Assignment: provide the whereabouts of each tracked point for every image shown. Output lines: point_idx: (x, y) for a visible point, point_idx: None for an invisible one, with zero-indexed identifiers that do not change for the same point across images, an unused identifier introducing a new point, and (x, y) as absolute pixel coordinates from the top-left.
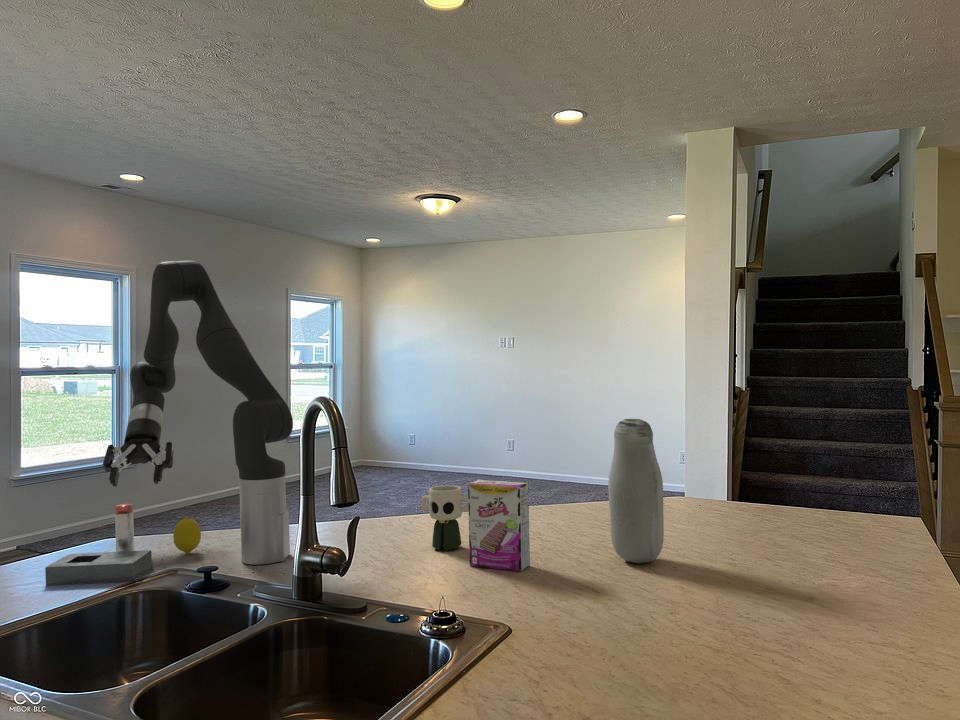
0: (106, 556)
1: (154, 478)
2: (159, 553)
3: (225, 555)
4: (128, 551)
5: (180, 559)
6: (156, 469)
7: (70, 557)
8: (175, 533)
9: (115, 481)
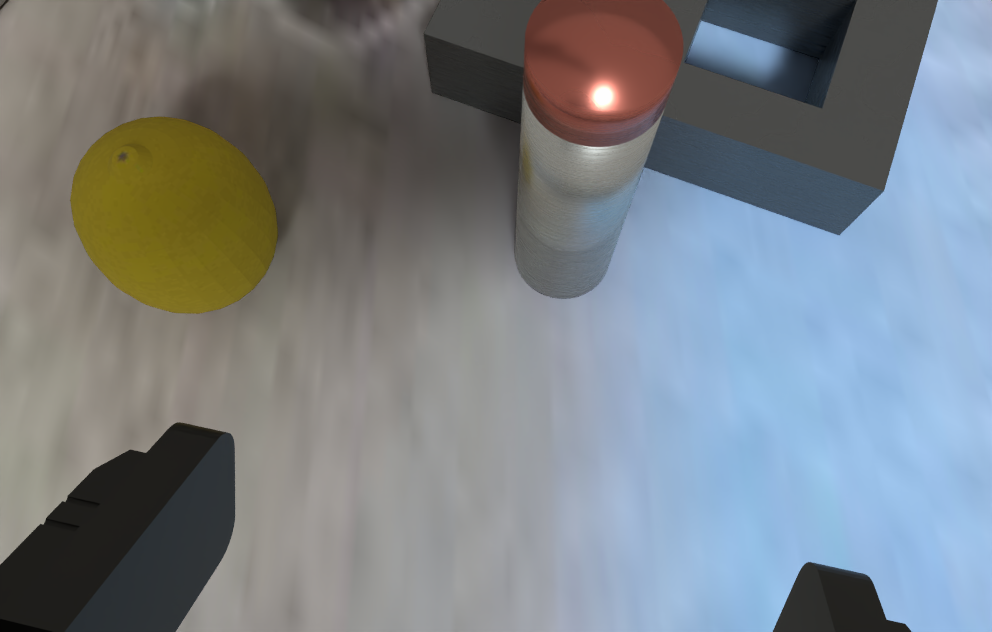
0: None
1: (211, 431)
2: (372, 374)
3: (53, 129)
4: None
5: (280, 172)
6: (92, 547)
7: (858, 99)
8: (252, 171)
9: (802, 590)
